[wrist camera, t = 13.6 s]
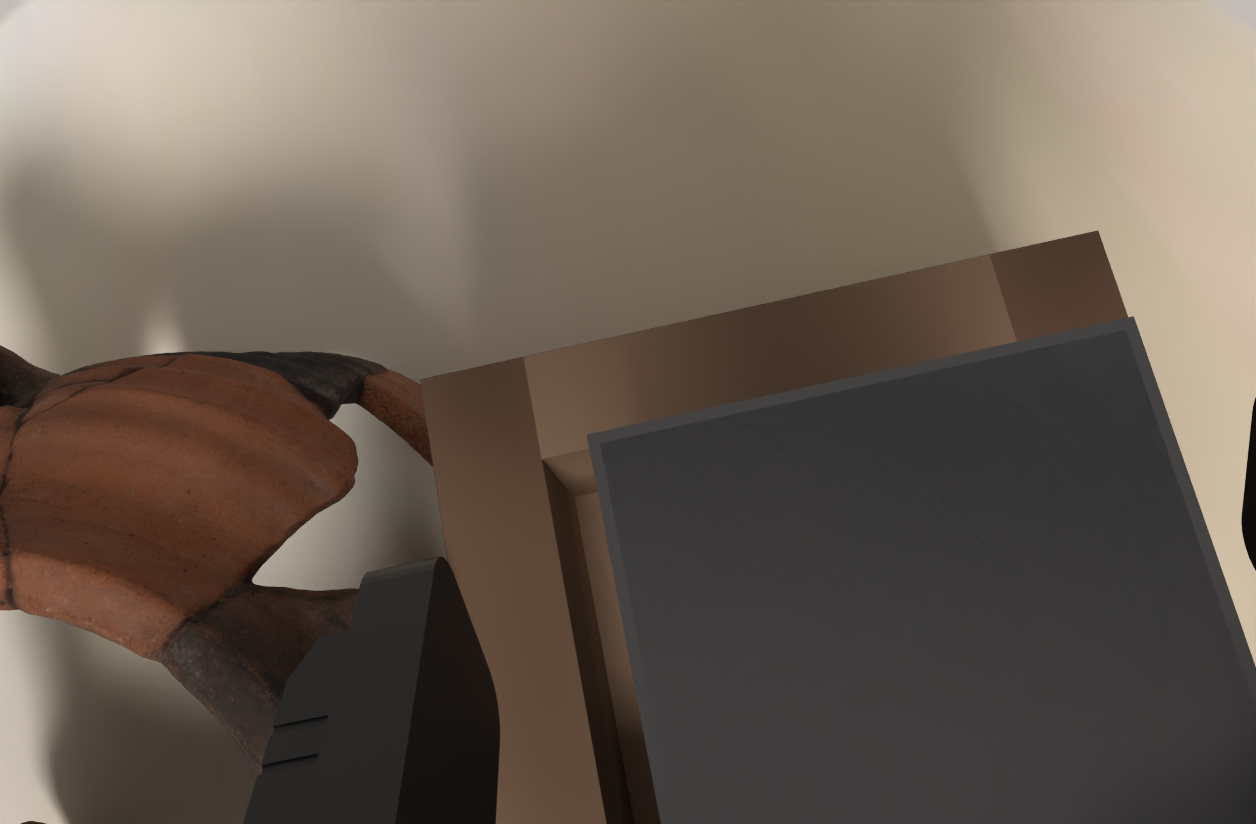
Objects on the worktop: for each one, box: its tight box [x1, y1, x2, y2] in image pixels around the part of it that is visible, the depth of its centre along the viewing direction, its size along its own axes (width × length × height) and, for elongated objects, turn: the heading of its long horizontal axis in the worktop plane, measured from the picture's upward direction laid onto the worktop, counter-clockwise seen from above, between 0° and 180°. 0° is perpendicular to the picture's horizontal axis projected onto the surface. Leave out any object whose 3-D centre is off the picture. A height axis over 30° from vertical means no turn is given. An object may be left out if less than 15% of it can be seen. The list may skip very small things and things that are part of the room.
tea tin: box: [587, 316, 1256, 824], centre depth 12 cm, size 5×5×8 cm
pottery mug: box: [0, 346, 433, 824], centre depth 16 cm, size 12×10×8 cm
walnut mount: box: [420, 231, 1128, 824], centre depth 15 cm, size 10×10×4 cm
